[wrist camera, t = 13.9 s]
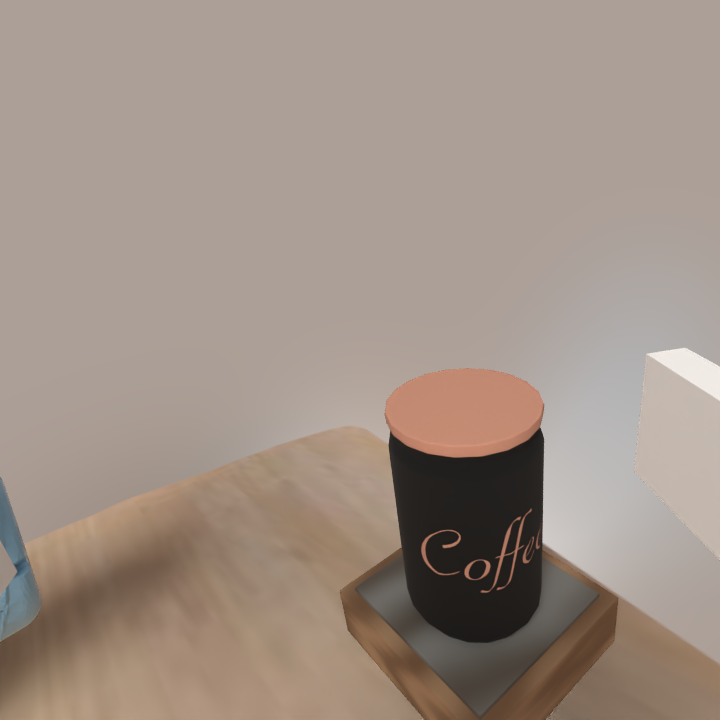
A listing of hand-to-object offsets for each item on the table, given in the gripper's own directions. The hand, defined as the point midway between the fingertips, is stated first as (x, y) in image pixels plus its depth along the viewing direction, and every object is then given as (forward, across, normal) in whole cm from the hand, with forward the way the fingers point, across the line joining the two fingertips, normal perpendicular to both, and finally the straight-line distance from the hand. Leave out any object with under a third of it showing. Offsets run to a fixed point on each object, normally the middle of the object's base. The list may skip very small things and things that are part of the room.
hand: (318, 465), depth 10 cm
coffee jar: (+22, +8, -30) cm, 38 cm away
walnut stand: (+22, +8, -35) cm, 42 cm away
